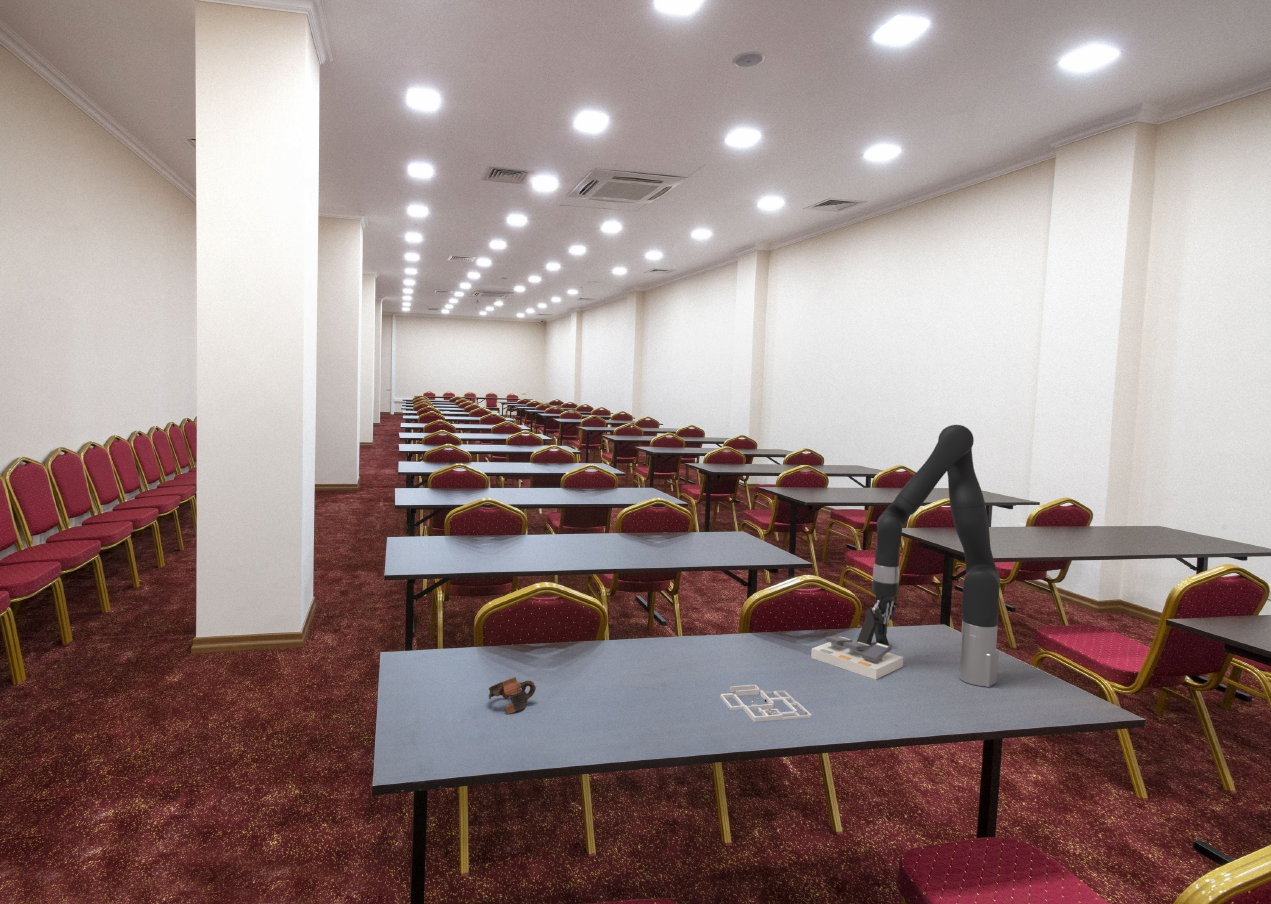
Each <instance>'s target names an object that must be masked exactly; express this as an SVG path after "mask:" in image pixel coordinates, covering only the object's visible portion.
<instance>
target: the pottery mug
mask: <svg viewBox="0 0 1271 904" xmlns="http://www.w3.org/2000/svg"><path fill="white" fill-rule="evenodd" d="M527 687H529V691H528V692H526V689H527ZM536 688H537V686H536V685H535V683H534V681H532V680H525V681H522V682H519V681H518V680H517V678H516V677H513V676H512V677H510V678H508V679H505V680H503V681H501V682H500V681H499V683H496V684H495V683H494V684H493V685H491V686H490V687H489V688H488V690H489V694H488V699H489V700H491V699H492V698H493V697H500V696H502V697H503V698H504V699H505V700H507V699H509V698H510V700H511V702H510V703H509V704H507V705H505V706H504V709H505V711H506V714H507V715H511V714H514V713H515V712H516V713H517V712H518V711H522V710H524V709H526V704H527V702H528V700H529V699H530V698H532V697H533V695H535V692H536Z"/></svg>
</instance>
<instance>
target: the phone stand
mask: <svg viewBox="0 0 1271 904" xmlns="http://www.w3.org/2000/svg"><path fill="white" fill-rule="evenodd" d="M873 637H875V641H874V642H872V641H873V639H874V638H873ZM856 642H861V643H864V644H868V645H871V647H872V646H873V645H875V644H876V643H881V644H884V645H887V646H890V643H889V640H888V637H887V634H886V635H884V636H882V635H879V634H878V622H876V621H874V619H873V617H872V614H871V612H870V608H868V609H866V611H865V619H864V622H863V624H862V627H861V629H860V632H859V635H858V637H857V639H856Z"/></svg>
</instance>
